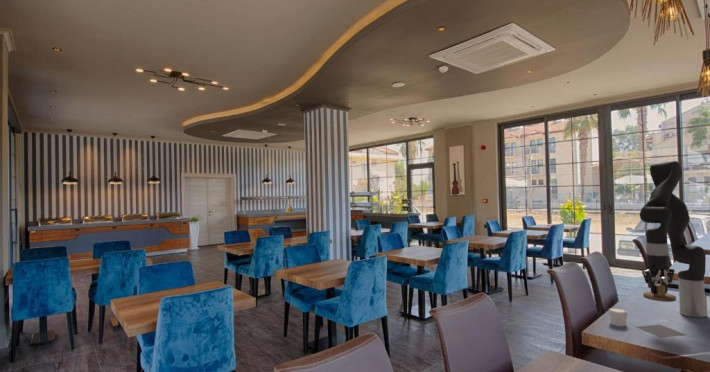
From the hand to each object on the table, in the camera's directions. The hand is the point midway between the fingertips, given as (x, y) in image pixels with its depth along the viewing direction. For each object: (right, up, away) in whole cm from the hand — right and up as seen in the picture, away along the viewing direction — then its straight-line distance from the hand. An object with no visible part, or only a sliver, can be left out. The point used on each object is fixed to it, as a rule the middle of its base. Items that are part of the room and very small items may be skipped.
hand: (659, 293), depth 162 cm
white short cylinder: (-11, -18, +10) cm, 23 cm away
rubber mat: (+1, -17, 0) cm, 17 cm away
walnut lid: (0, -2, 0) cm, 2 cm away
